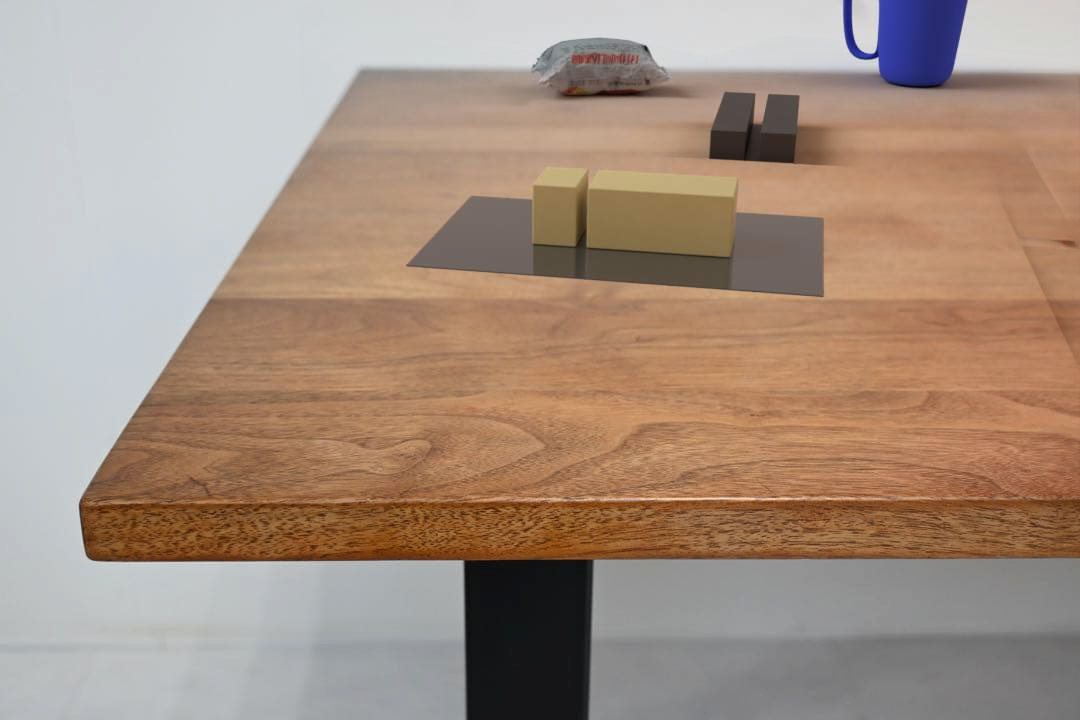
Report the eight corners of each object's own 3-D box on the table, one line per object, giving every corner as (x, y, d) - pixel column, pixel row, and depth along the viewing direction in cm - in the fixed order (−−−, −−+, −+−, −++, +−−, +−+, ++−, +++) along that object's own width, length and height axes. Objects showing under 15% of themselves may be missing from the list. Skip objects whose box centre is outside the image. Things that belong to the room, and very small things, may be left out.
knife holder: (796, 132, 102) (799, 95, 101) (792, 175, 89) (796, 134, 88) (722, 128, 103) (724, 91, 102) (708, 171, 90) (710, 129, 89)
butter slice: (587, 226, 74) (588, 168, 73) (575, 247, 70) (576, 186, 69) (546, 224, 74) (546, 166, 73) (532, 244, 71) (532, 184, 69)
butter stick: (734, 236, 72) (738, 177, 71) (730, 258, 69) (734, 196, 67) (597, 227, 74) (599, 169, 72) (586, 248, 70) (587, 187, 69)
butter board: (821, 236, 76) (823, 217, 76) (821, 318, 64) (823, 296, 63) (471, 213, 80) (470, 195, 80) (406, 286, 68) (405, 265, 67)
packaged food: (670, 103, 112) (672, 46, 110) (537, 105, 111) (538, 48, 109) (653, 85, 120) (655, 32, 118) (529, 87, 119) (529, 34, 117)
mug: (852, 67, 129) (862, -35, 125) (969, 80, 123) (984, -27, 119) (819, 79, 123) (829, -27, 119) (941, 93, 116) (955, -18, 113)
